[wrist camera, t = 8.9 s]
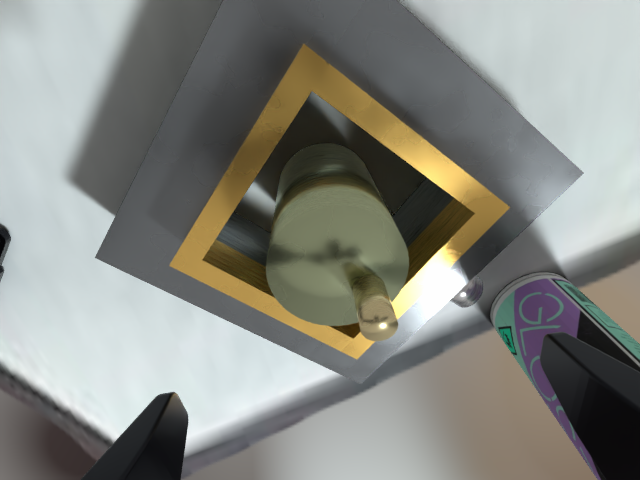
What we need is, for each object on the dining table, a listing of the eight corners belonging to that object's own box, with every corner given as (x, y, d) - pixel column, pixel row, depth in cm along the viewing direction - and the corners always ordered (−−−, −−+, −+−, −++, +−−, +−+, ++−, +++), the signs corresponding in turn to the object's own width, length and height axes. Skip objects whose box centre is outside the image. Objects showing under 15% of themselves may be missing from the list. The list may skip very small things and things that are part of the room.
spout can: (261, 201, 20) (229, 326, 11) (313, 123, 18) (323, 201, 9) (335, 245, 22) (358, 386, 13) (389, 177, 20) (460, 288, 11)
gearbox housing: (126, 224, 20) (71, 282, 15) (282, -78, 14) (273, -138, 10) (376, 353, 26) (393, 425, 21) (562, 172, 20) (645, 214, 15)
